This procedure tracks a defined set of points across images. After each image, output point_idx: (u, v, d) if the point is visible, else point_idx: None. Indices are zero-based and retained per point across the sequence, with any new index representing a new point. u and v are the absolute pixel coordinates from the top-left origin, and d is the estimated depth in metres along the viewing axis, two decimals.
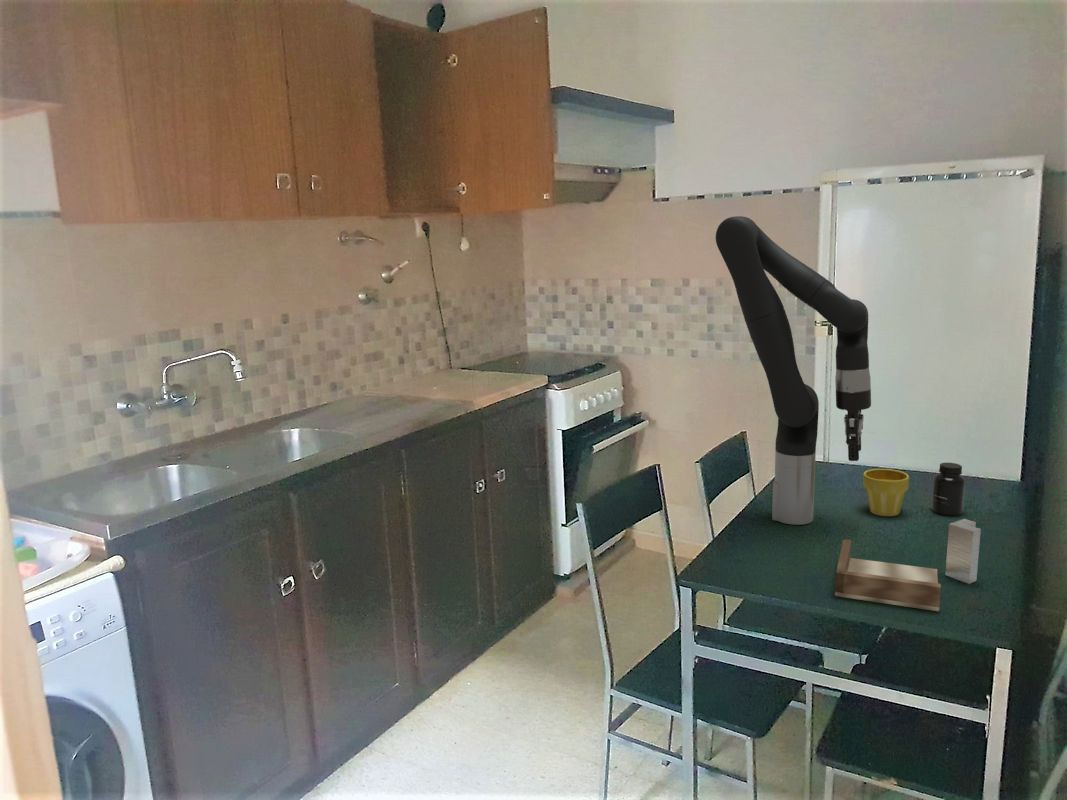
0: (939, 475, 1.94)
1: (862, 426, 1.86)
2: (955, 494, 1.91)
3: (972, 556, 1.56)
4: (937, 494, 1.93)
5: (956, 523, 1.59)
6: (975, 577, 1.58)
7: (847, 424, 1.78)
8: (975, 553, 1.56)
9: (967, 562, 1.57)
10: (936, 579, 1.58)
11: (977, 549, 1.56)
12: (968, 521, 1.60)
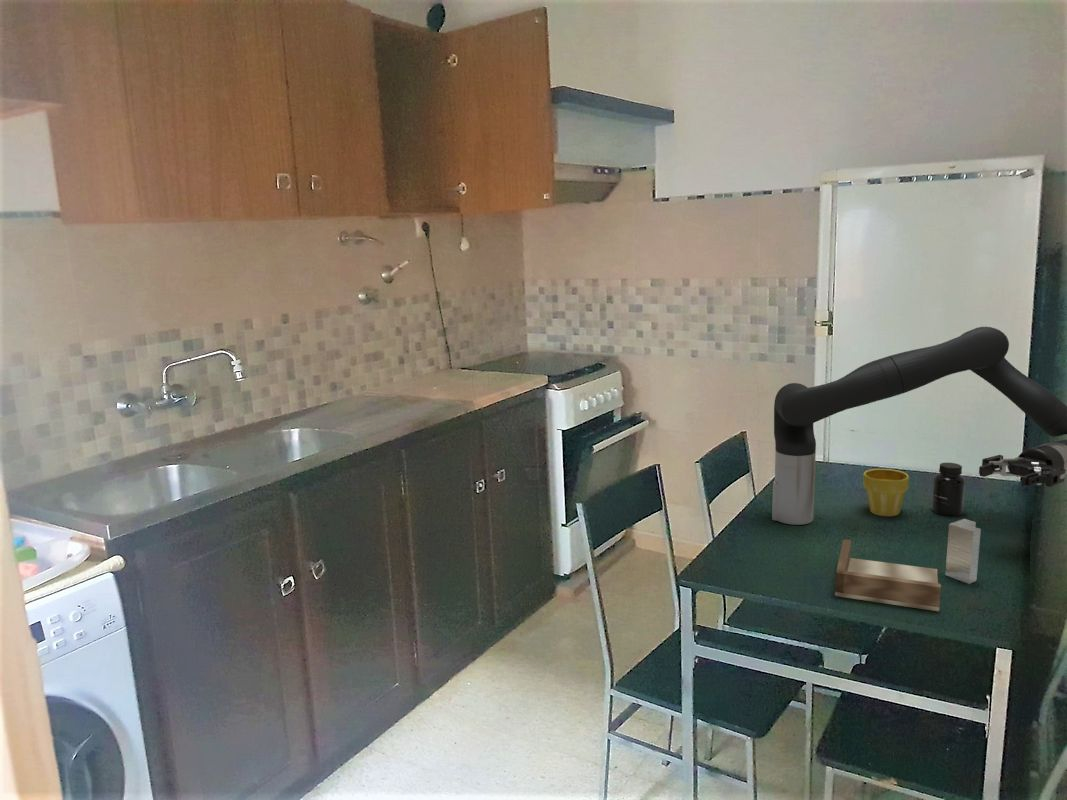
0: (939, 475, 1.94)
1: (1007, 475, 1.67)
2: (955, 494, 1.91)
3: (972, 556, 1.56)
4: (937, 494, 1.93)
5: (956, 523, 1.59)
6: (975, 577, 1.58)
7: (1063, 472, 1.59)
8: (975, 553, 1.56)
9: (967, 562, 1.57)
10: (936, 579, 1.58)
11: (977, 549, 1.56)
12: (968, 521, 1.60)
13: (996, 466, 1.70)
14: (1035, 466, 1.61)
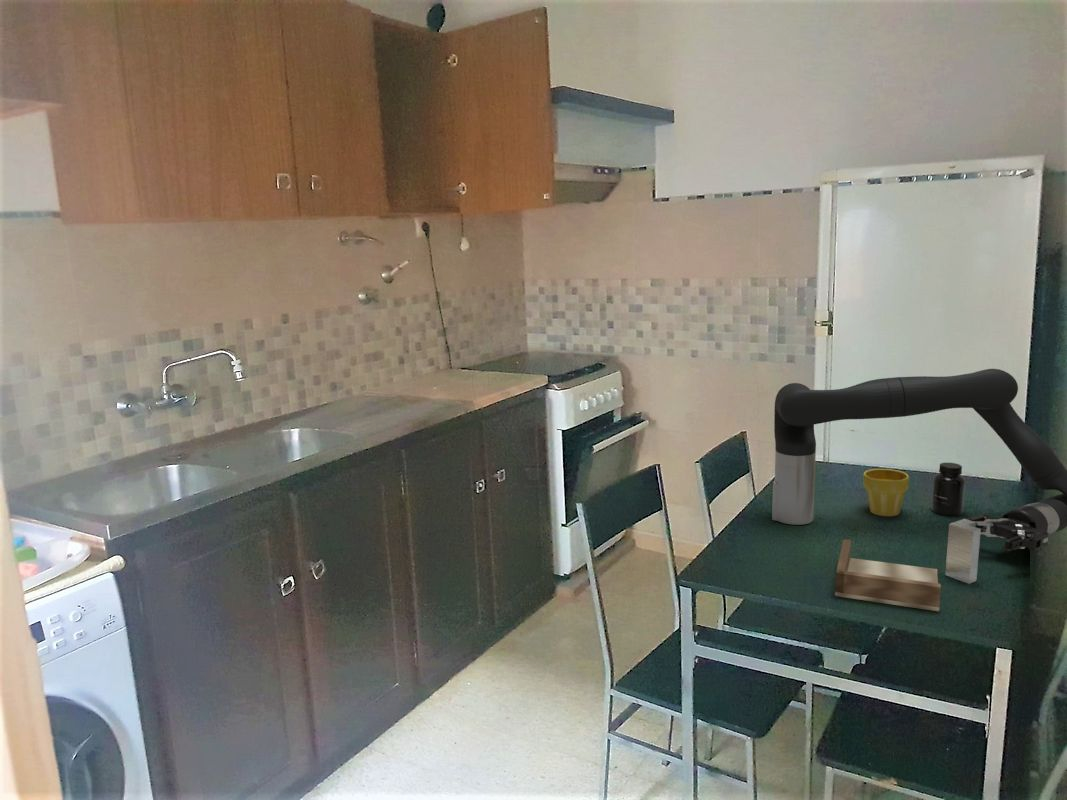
0: (939, 475, 1.94)
1: (991, 536, 1.68)
2: (955, 494, 1.91)
3: (972, 556, 1.56)
4: (937, 494, 1.93)
5: (956, 523, 1.59)
6: (975, 577, 1.58)
7: (1046, 536, 1.60)
8: (975, 553, 1.56)
9: (967, 562, 1.57)
10: (936, 579, 1.58)
11: (977, 549, 1.56)
12: (968, 521, 1.60)
13: (981, 526, 1.71)
14: (1019, 529, 1.62)
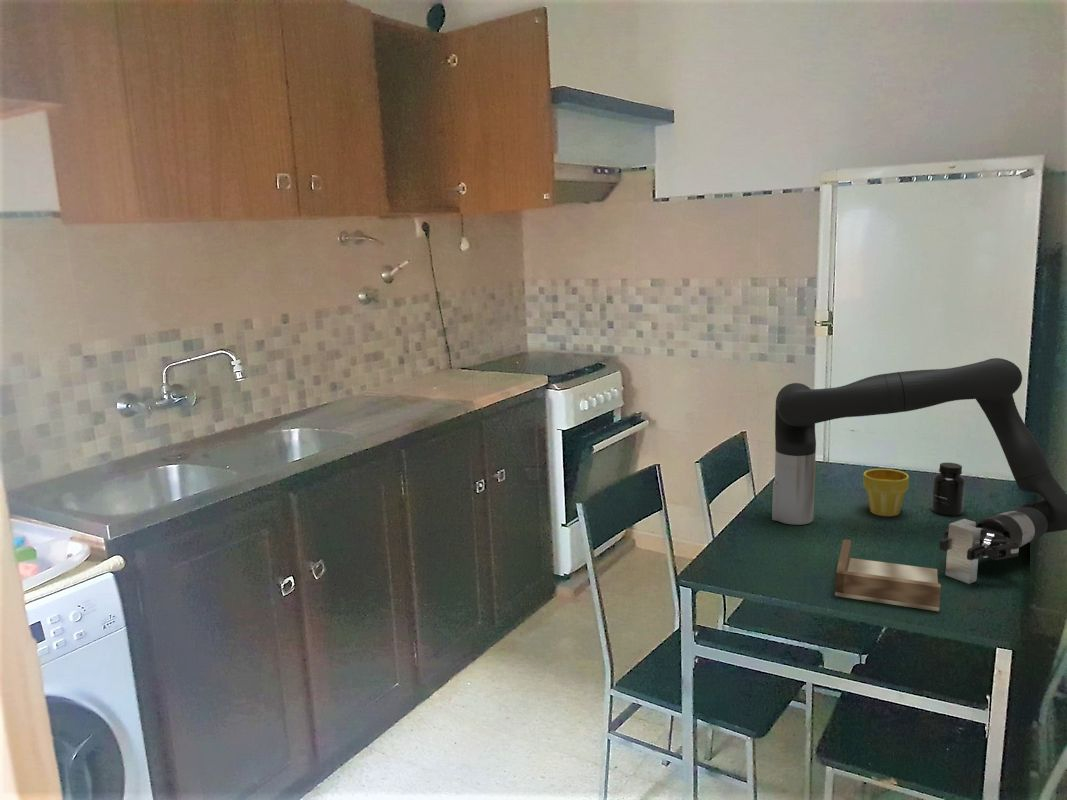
0: (939, 475, 1.94)
1: None
2: (955, 494, 1.91)
3: None
4: (937, 494, 1.93)
5: (956, 523, 1.59)
6: (975, 577, 1.58)
7: (1014, 546, 1.55)
8: None
9: (967, 562, 1.57)
10: (936, 579, 1.58)
11: None
12: (968, 521, 1.60)
13: None
14: (986, 538, 1.58)
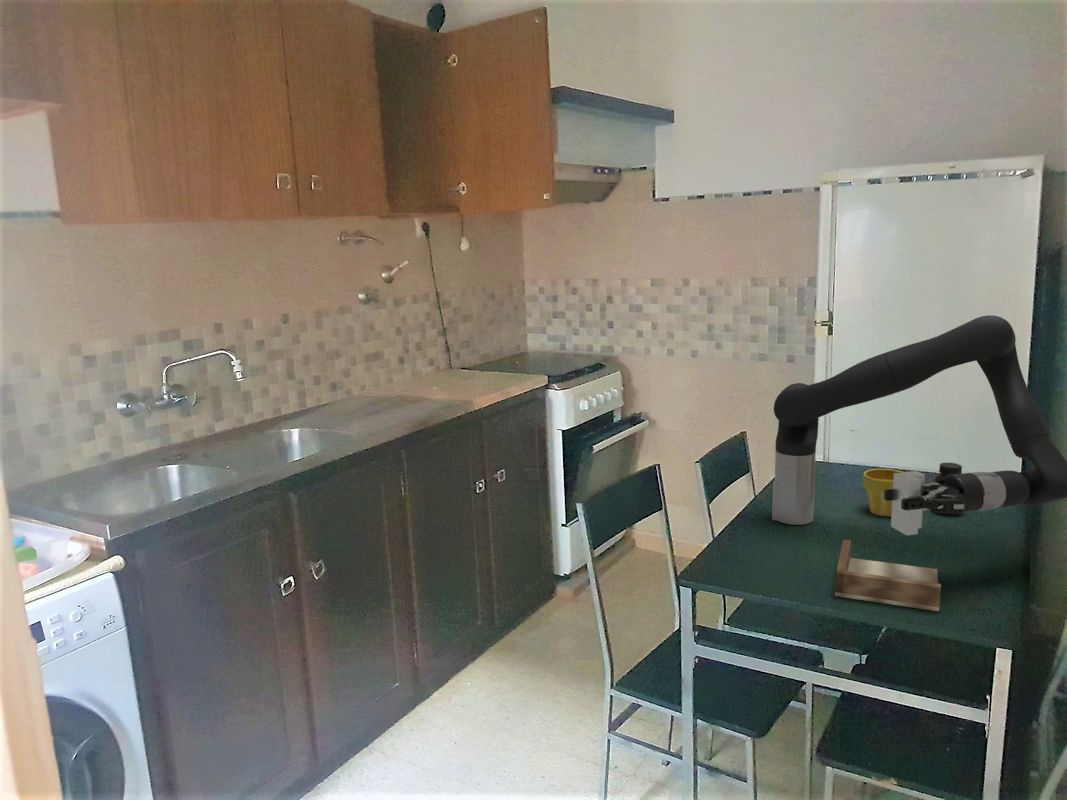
0: (939, 475, 1.94)
1: None
2: None
3: None
4: None
5: (902, 473, 1.55)
6: (916, 530, 1.53)
7: (958, 502, 1.49)
8: None
9: (905, 512, 1.53)
10: (936, 579, 1.58)
11: None
12: (917, 473, 1.55)
13: None
14: (932, 491, 1.53)
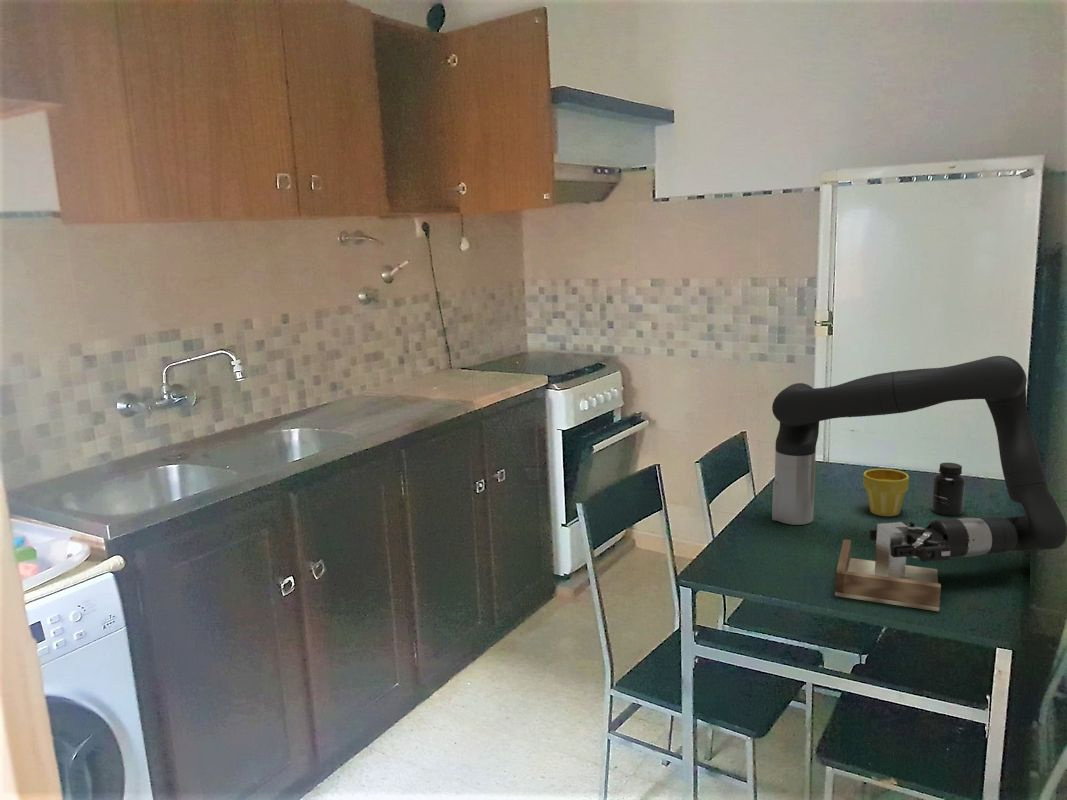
0: (939, 475, 1.94)
1: None
2: (955, 494, 1.91)
3: (891, 558, 1.54)
4: (937, 494, 1.93)
5: (885, 524, 1.58)
6: None
7: (945, 549, 1.50)
8: None
9: (886, 563, 1.55)
10: (936, 579, 1.58)
11: None
12: (901, 524, 1.57)
13: None
14: (920, 538, 1.53)
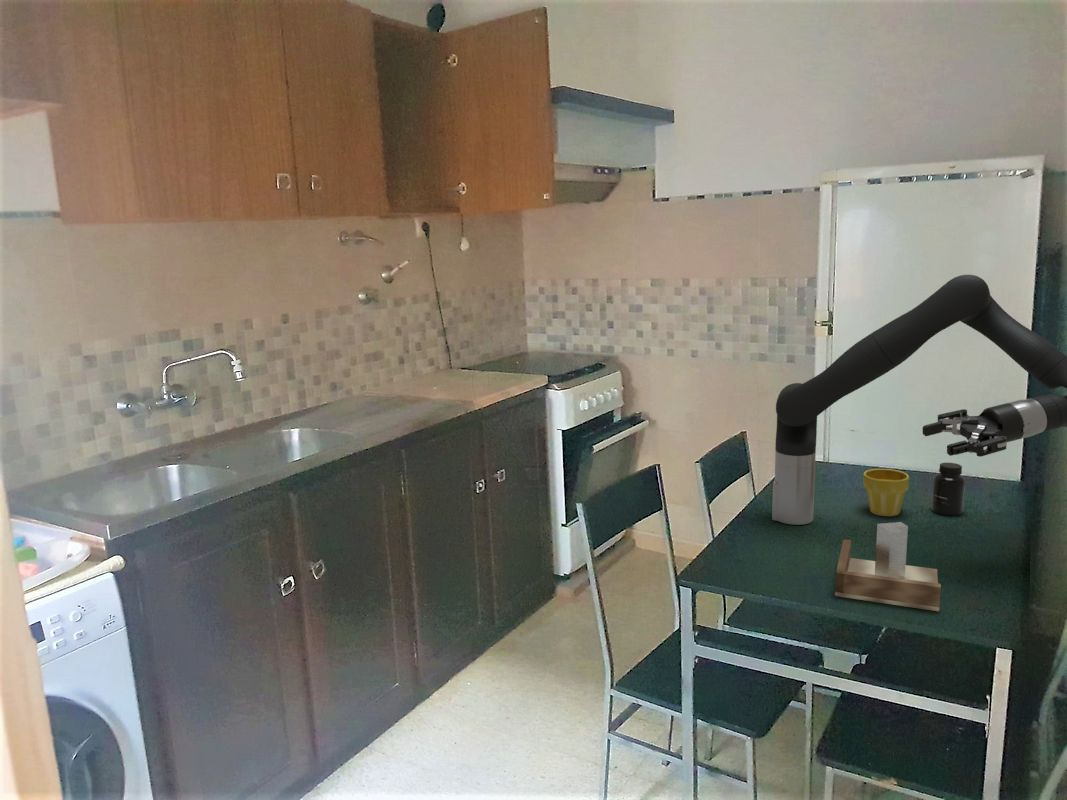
0: (939, 475, 1.94)
1: (958, 434, 1.62)
2: (955, 494, 1.91)
3: (891, 558, 1.54)
4: (937, 494, 1.93)
5: (885, 524, 1.58)
6: None
7: (1001, 441, 1.52)
8: (895, 556, 1.54)
9: (886, 563, 1.55)
10: (936, 579, 1.58)
11: (898, 552, 1.54)
12: (901, 524, 1.57)
13: None
14: (975, 432, 1.55)
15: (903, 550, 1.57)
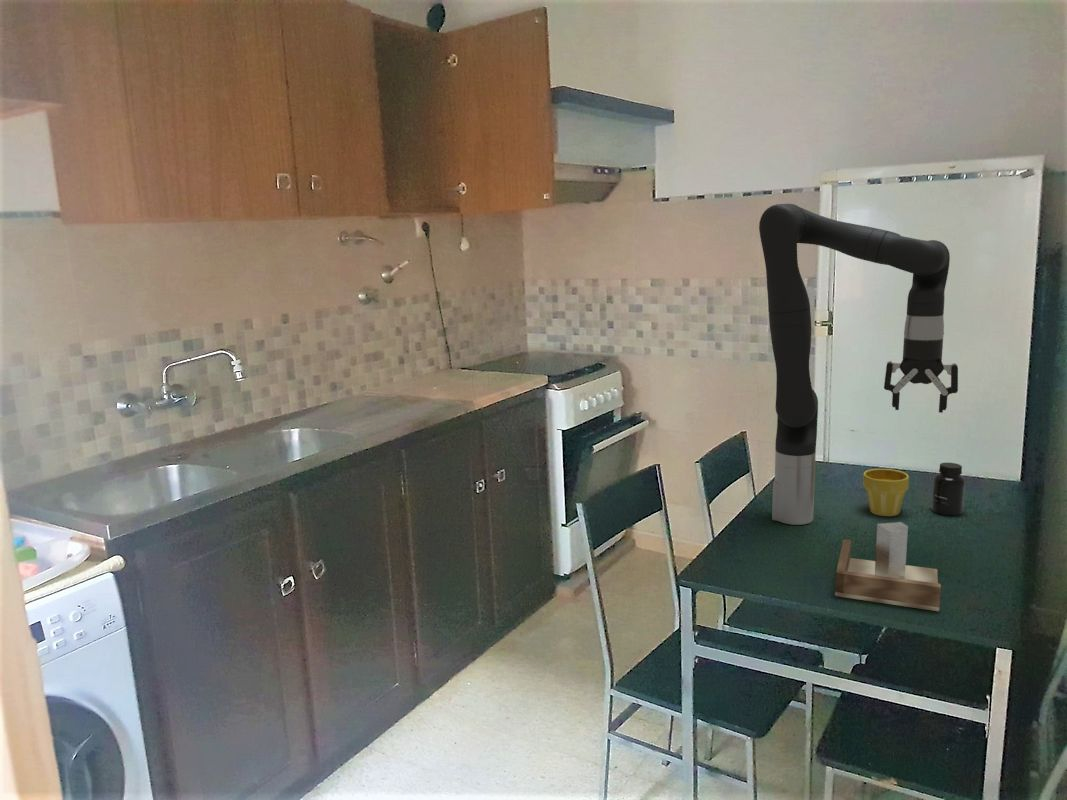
0: (939, 475, 1.94)
1: None
2: (955, 494, 1.91)
3: (891, 558, 1.54)
4: (937, 494, 1.93)
5: (885, 524, 1.58)
6: None
7: (957, 371, 1.67)
8: (895, 556, 1.54)
9: (886, 563, 1.55)
10: (936, 579, 1.58)
11: (898, 552, 1.54)
12: (901, 524, 1.57)
13: None
14: (936, 384, 1.68)
15: (903, 550, 1.57)
